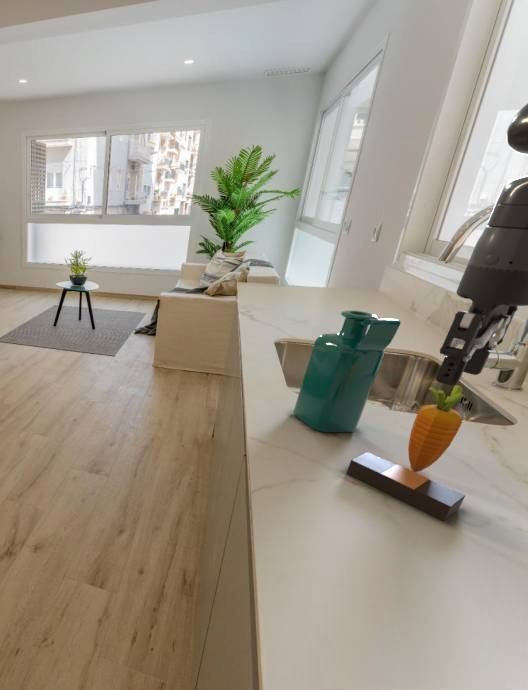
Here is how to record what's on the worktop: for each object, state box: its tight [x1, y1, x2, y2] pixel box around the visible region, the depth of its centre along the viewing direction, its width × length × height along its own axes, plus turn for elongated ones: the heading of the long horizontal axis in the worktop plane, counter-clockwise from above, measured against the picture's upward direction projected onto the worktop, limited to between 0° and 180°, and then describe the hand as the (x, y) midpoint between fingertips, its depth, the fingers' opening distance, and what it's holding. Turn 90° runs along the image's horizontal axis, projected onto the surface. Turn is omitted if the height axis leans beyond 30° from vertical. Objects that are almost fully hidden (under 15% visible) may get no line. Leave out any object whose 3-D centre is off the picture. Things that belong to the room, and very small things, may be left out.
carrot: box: [407, 384, 464, 473], centre depth 65 cm, size 5×5×15 cm
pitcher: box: [293, 309, 401, 433], centre depth 77 cm, size 10×8×22 cm
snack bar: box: [346, 451, 466, 522], centre depth 63 cm, size 5×12×3 cm, turn 29°
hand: (457, 377), depth 61 cm, fingers open, 8 cm apart
